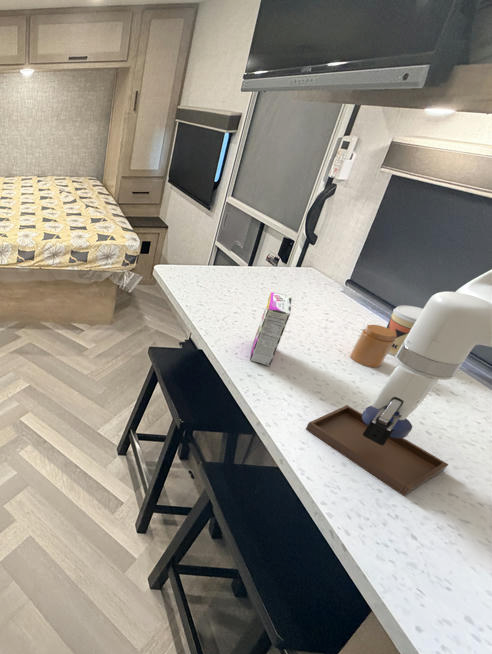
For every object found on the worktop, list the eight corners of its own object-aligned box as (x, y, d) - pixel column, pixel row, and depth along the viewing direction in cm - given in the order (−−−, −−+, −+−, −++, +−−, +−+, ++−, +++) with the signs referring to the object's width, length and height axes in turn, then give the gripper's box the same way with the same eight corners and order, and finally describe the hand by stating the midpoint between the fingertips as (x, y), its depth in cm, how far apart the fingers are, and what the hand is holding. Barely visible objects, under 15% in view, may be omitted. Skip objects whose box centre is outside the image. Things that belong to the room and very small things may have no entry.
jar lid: (358, 424, 78) (362, 417, 77) (364, 407, 82) (367, 400, 81) (405, 444, 73) (410, 437, 72) (409, 425, 77) (414, 418, 77)
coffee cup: (367, 339, 115) (386, 303, 109) (404, 342, 113) (425, 306, 108) (390, 359, 107) (412, 321, 101) (430, 362, 105) (454, 324, 100)
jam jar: (386, 363, 105) (403, 333, 100) (371, 369, 103) (389, 339, 98) (358, 350, 110) (374, 321, 106) (344, 356, 108) (359, 326, 103)
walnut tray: (443, 471, 76) (448, 464, 75) (404, 496, 71) (409, 489, 70) (343, 411, 90) (347, 404, 89) (305, 429, 85) (308, 422, 84)
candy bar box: (252, 341, 115) (270, 291, 107) (272, 346, 112) (292, 295, 104) (248, 360, 107) (267, 308, 99) (270, 367, 104) (291, 313, 96)
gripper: (414, 334, 77) (372, 403, 85) (382, 365, 69) (339, 438, 77) (470, 354, 71) (419, 425, 80) (442, 389, 63) (388, 465, 71)
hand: (380, 431), depth 78 cm, fingers closed on jar lid, 6 cm apart
